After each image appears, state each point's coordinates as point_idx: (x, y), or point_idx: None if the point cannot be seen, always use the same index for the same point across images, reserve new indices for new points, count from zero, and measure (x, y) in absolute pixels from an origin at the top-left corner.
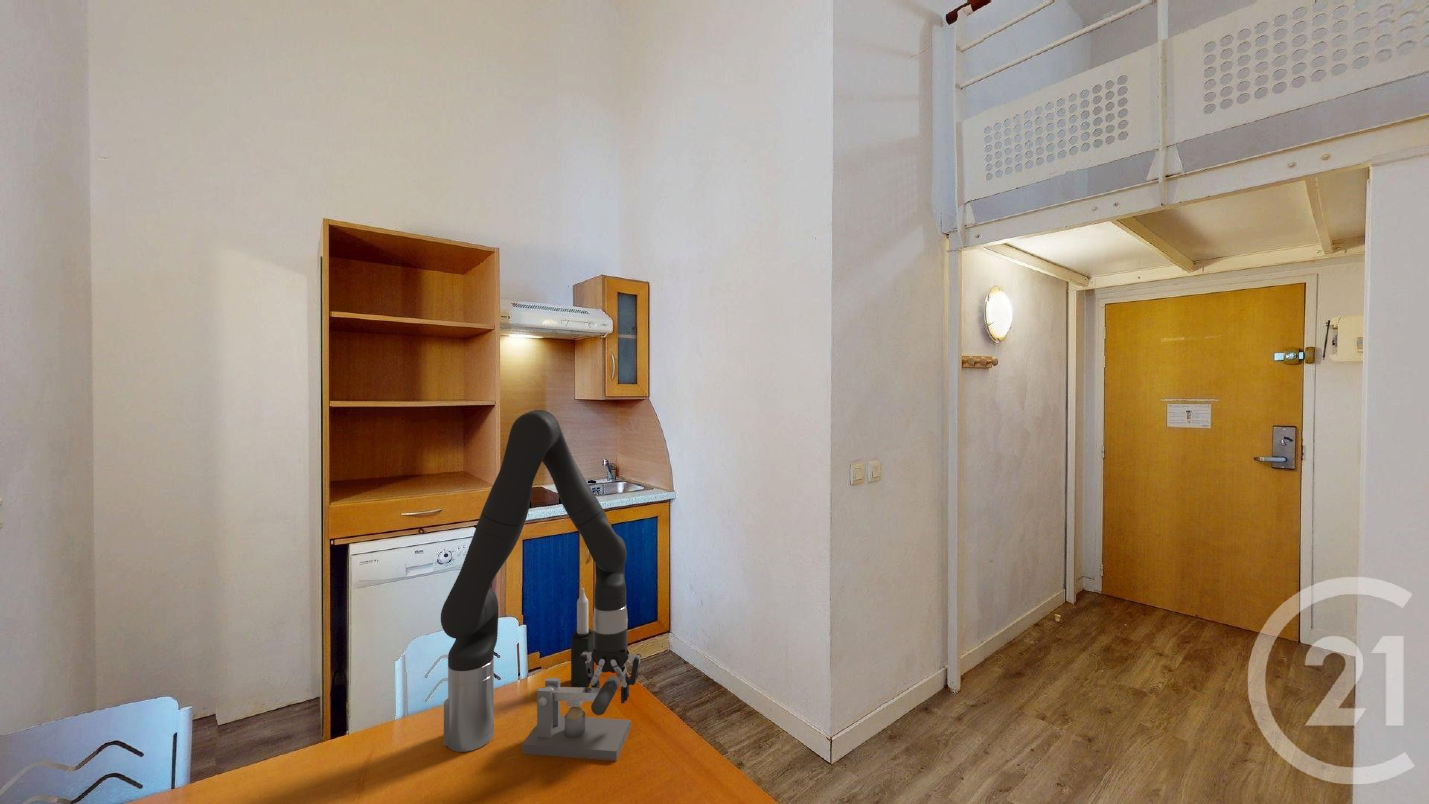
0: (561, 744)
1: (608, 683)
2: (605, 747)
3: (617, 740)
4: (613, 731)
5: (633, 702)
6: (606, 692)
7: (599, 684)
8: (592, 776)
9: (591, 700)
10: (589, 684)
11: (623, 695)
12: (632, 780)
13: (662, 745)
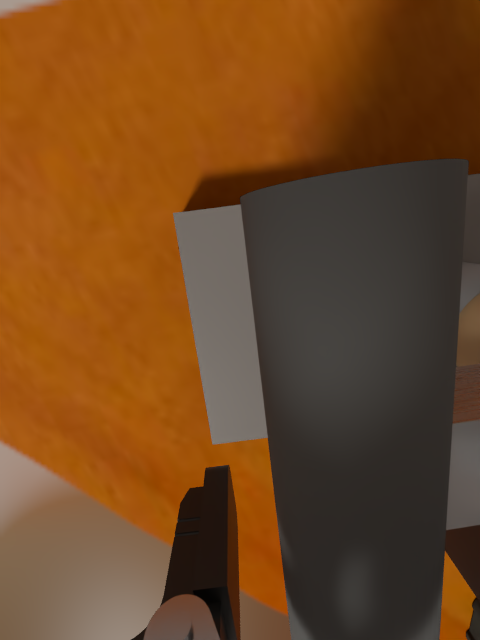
0: (471, 198)
1: (388, 610)
2: (241, 229)
3: (206, 294)
4: (254, 351)
5: (271, 560)
6: (339, 430)
7: (477, 588)
8: (240, 82)
9: (471, 370)
10: (476, 611)
11: (204, 515)
12: (47, 101)
13: (39, 357)
